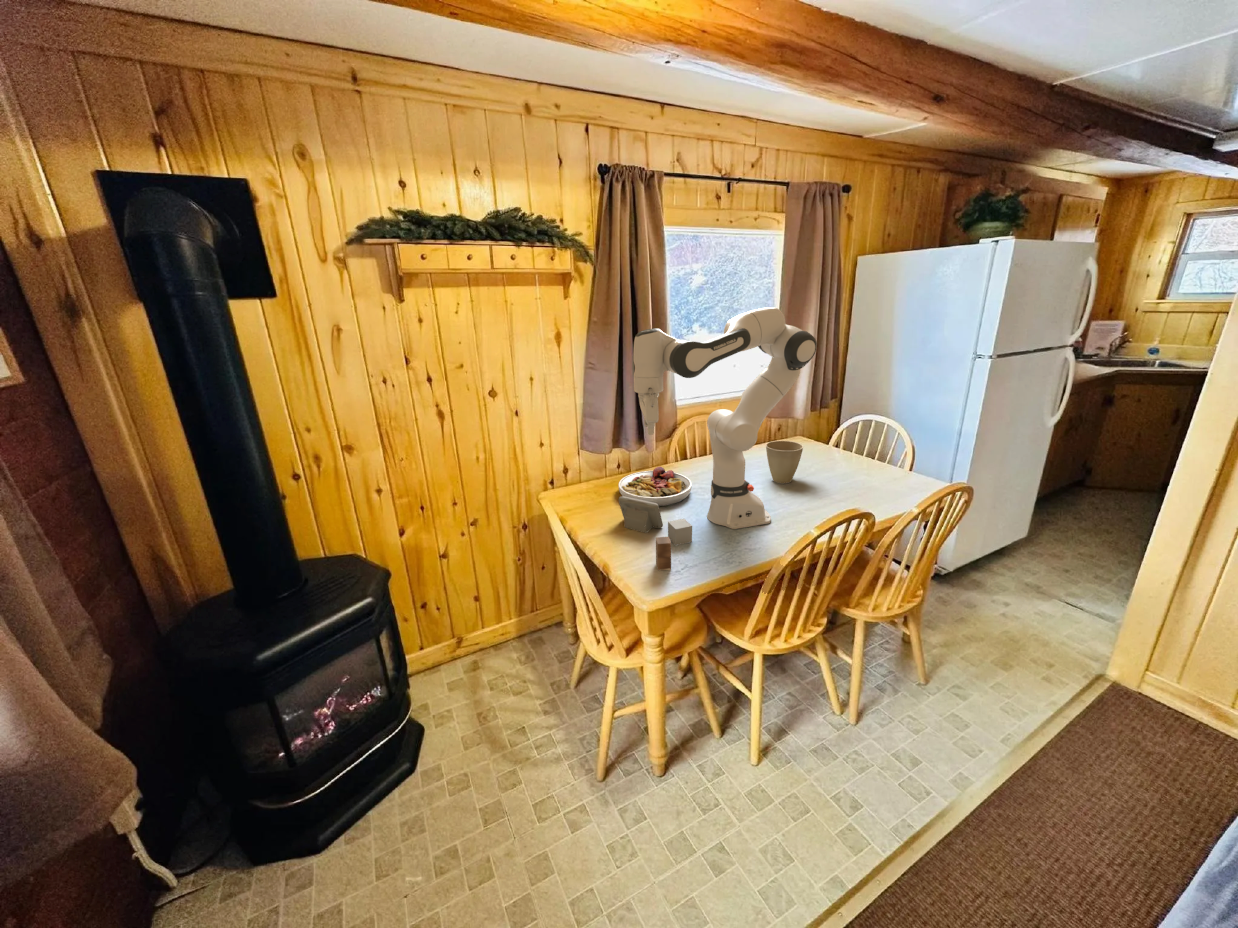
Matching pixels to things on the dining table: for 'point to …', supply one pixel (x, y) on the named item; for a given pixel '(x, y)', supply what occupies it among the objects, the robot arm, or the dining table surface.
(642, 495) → the bowl
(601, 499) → the dining table surface
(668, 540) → the walnut post
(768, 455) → the plant pot
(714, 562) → the dining table surface
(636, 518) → the digital clock
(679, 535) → the grey cube
